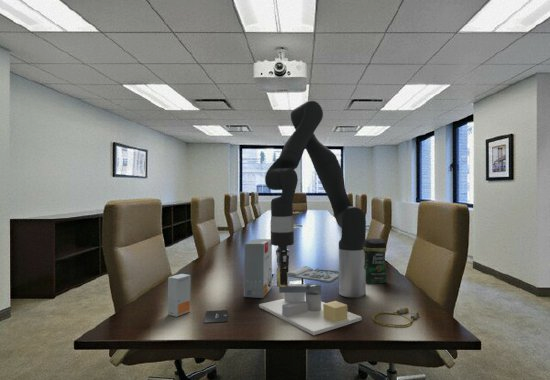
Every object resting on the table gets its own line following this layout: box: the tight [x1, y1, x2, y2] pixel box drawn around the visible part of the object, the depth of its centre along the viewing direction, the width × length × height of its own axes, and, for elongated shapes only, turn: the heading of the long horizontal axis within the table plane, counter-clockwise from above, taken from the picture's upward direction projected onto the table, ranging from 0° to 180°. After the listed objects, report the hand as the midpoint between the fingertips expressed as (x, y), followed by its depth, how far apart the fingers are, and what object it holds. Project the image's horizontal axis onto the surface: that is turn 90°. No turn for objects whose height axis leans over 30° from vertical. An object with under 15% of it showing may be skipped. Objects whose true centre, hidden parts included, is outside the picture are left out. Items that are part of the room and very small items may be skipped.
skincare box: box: [167, 273, 192, 317], centre depth 109 cm, size 6×4×12 cm
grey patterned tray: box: [288, 266, 339, 284], centre depth 160 cm, size 23×3×20 cm
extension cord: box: [372, 307, 420, 328], centre depth 103 cm, size 12×16×2 cm
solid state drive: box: [203, 309, 229, 324], centre depth 106 cm, size 7×10×1 cm
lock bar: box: [276, 267, 322, 294], centre depth 110 cm, size 14×5×8 cm, turn 89°
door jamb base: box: [258, 292, 363, 336], centre depth 108 cm, size 19×28×6 cm
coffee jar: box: [364, 238, 388, 284], centre depth 147 cm, size 10×8×19 cm
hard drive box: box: [243, 238, 273, 299], centre depth 132 cm, size 16×8×20 cm, turn 168°
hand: (282, 282), depth 110 cm, fingers open, 3 cm apart
